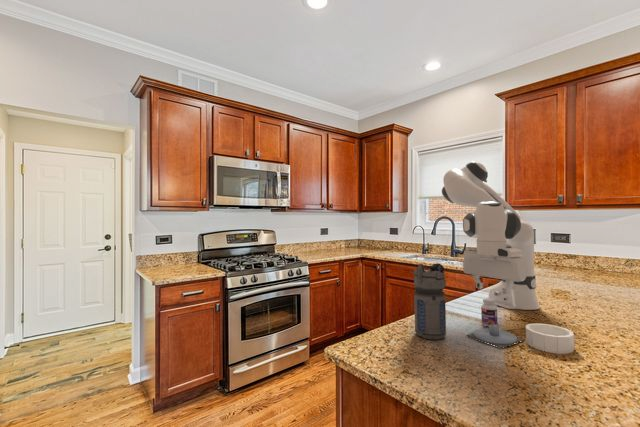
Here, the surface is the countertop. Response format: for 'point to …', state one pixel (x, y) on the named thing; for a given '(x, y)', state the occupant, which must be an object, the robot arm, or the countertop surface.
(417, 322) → the beverage bottle
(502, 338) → the lid
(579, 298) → the countertop surface
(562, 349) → the bowl
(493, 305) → the pill bottle
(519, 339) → the mat
